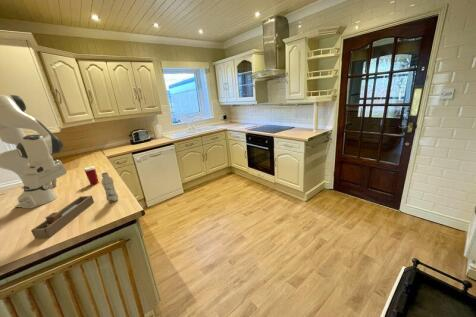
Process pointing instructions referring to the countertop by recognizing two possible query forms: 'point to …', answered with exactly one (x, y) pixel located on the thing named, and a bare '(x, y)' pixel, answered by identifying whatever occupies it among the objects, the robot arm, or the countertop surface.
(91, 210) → the countertop surface
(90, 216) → the countertop surface
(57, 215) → the block
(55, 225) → the long grey tray
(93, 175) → the paper cup
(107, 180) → the plastic bottle
